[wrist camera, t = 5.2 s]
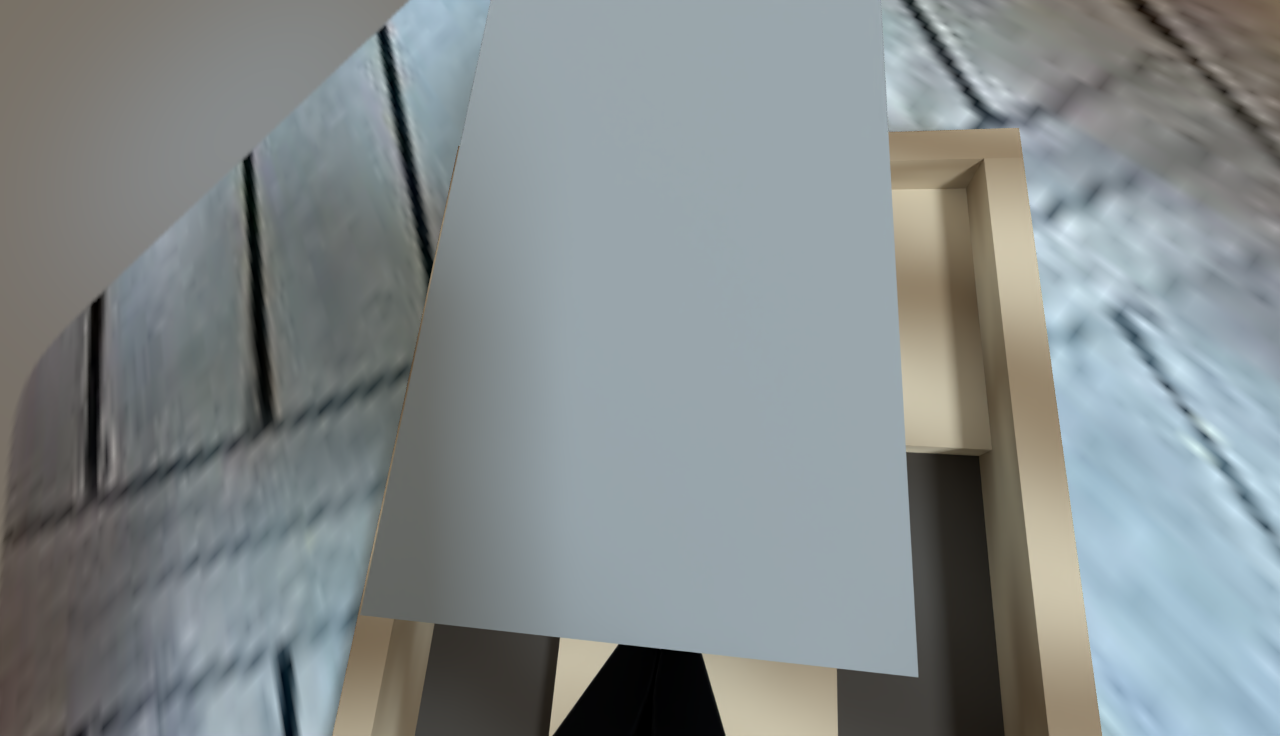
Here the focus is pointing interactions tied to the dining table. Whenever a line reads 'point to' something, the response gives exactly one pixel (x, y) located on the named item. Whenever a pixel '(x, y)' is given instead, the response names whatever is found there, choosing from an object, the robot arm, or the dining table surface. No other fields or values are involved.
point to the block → (664, 342)
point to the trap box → (938, 507)
